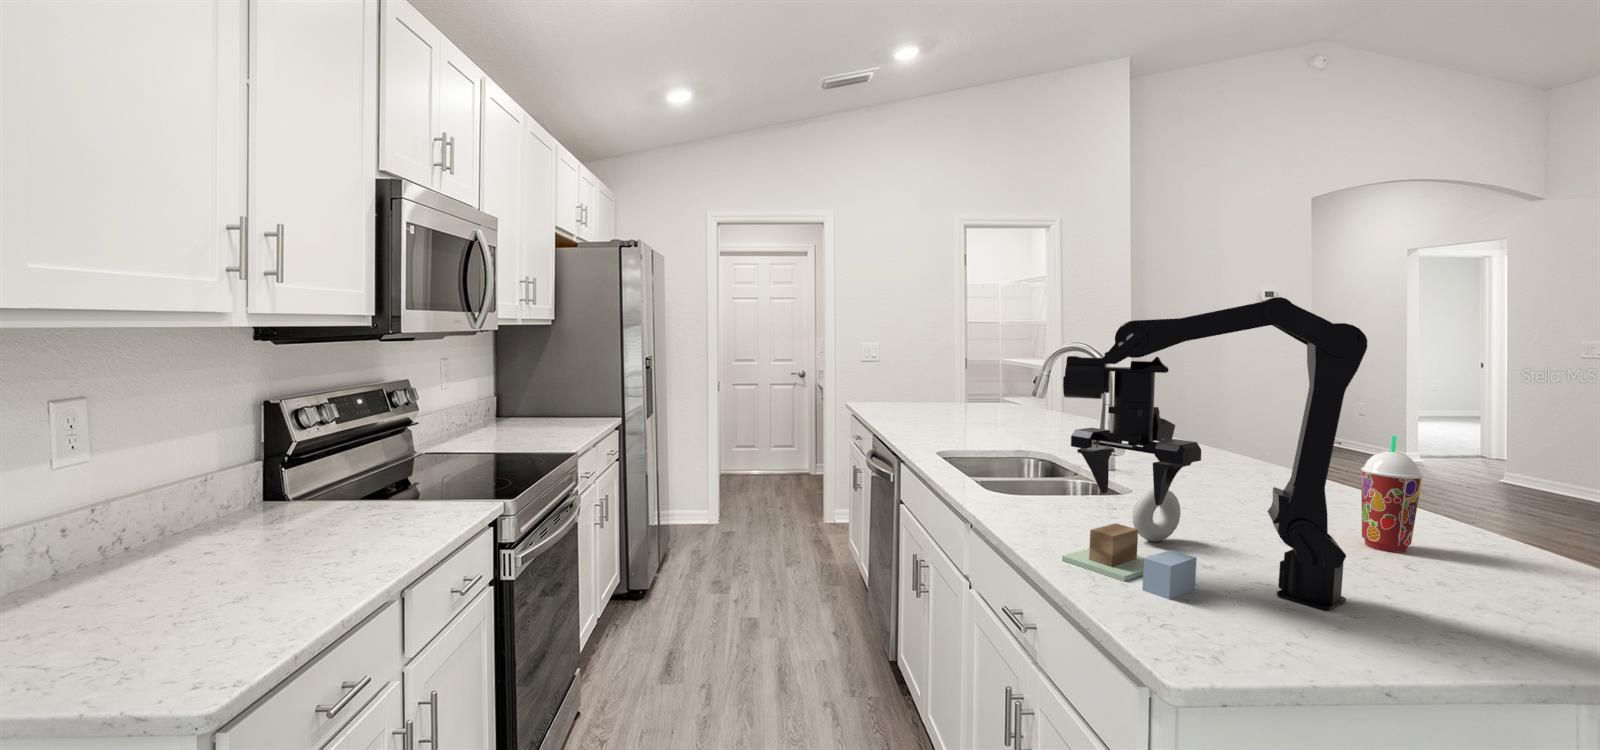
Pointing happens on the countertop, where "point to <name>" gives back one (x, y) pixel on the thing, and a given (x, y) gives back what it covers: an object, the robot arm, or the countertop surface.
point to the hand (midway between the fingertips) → (1130, 498)
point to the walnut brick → (1113, 544)
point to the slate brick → (1169, 574)
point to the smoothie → (1389, 500)
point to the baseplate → (1118, 572)
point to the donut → (1165, 520)
